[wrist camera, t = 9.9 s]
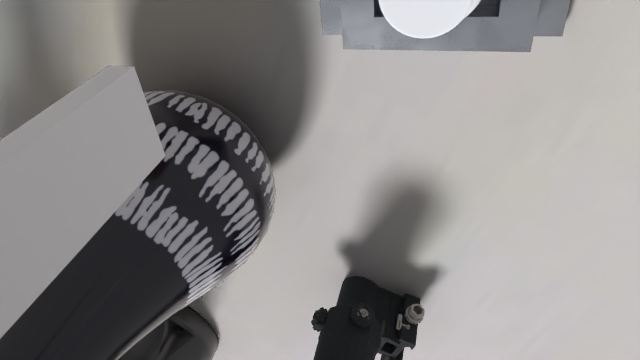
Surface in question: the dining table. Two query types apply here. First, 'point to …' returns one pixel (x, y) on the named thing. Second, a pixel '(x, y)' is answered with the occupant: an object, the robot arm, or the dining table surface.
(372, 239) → the dining table surface
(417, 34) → the pill bottle
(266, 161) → the vase
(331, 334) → the scope
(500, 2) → the coupler block
